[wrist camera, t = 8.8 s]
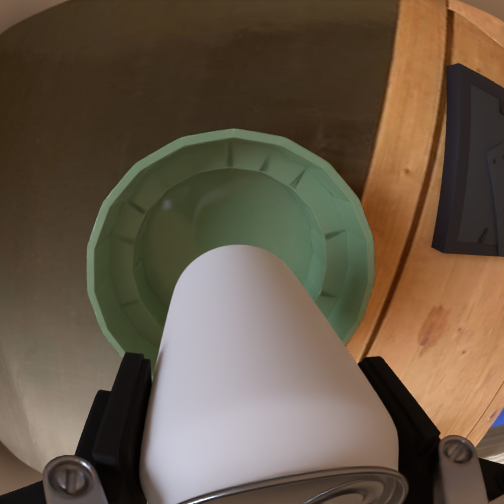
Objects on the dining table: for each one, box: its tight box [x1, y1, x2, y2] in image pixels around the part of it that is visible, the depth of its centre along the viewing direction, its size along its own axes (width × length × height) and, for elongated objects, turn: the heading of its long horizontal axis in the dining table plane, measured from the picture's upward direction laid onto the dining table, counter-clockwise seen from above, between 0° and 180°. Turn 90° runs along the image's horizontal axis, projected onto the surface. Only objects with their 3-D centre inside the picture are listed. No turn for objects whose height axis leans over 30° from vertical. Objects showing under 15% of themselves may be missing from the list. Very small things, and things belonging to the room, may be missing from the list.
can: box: [139, 245, 409, 504], centre depth 10 cm, size 6×6×12 cm
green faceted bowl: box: [87, 128, 375, 381], centre depth 21 cm, size 17×17×7 cm
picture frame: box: [431, 63, 504, 257], centre depth 24 cm, size 13×2×18 cm
